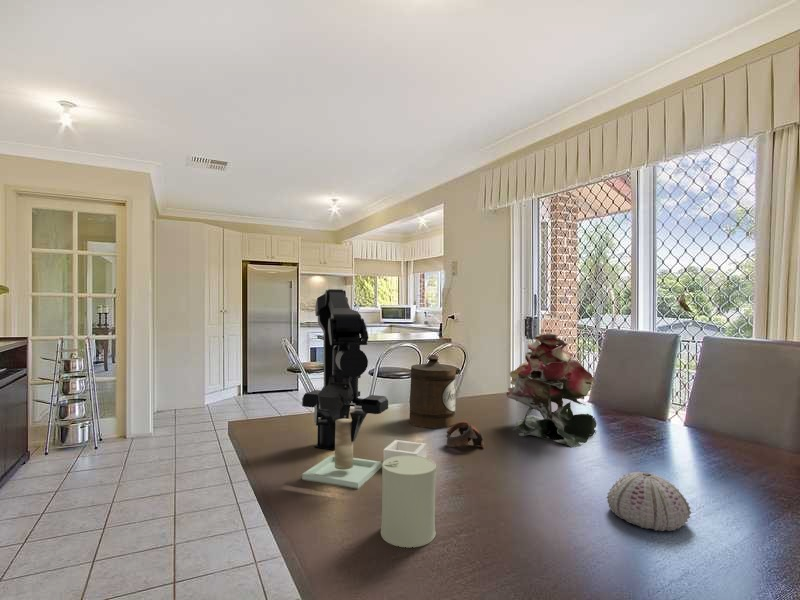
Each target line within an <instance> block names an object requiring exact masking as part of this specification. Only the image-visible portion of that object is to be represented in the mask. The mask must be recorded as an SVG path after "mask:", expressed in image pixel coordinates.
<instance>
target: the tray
mask: <svg viewBox="0 0 800 600" xmlns="http://www.w3.org/2000/svg"><path fill="white" fill-rule="evenodd" d="M382 463H383V461H378V460H373V459H372V460H371V459H364V458H358V457H353V467H352V468H350V469H345V470H341V469H337V468H335V454H330V455H329V456H328V457H327V456H326V457H325V458H324V459H323V460H321V461H319V462H318V463H317V464H314V465H313V466H312V467H311V468H309V469H308V470H306V471H304V472H303V473H302V474H301V475H302V478H301V479H302V481H306V482H307V481H308V482H314V483H320V484H325V485H326V484H327V485H332V486H339V487H344V488H351V489H355V490H359V489H360V488H361V487H363V485H364V484H365V483H366V482H367V481H369V480H370V479H371V478H372V477H373V476H374V475H375V474H376V473H377V472H379V470H380V469H381V470H382Z"/></svg>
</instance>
